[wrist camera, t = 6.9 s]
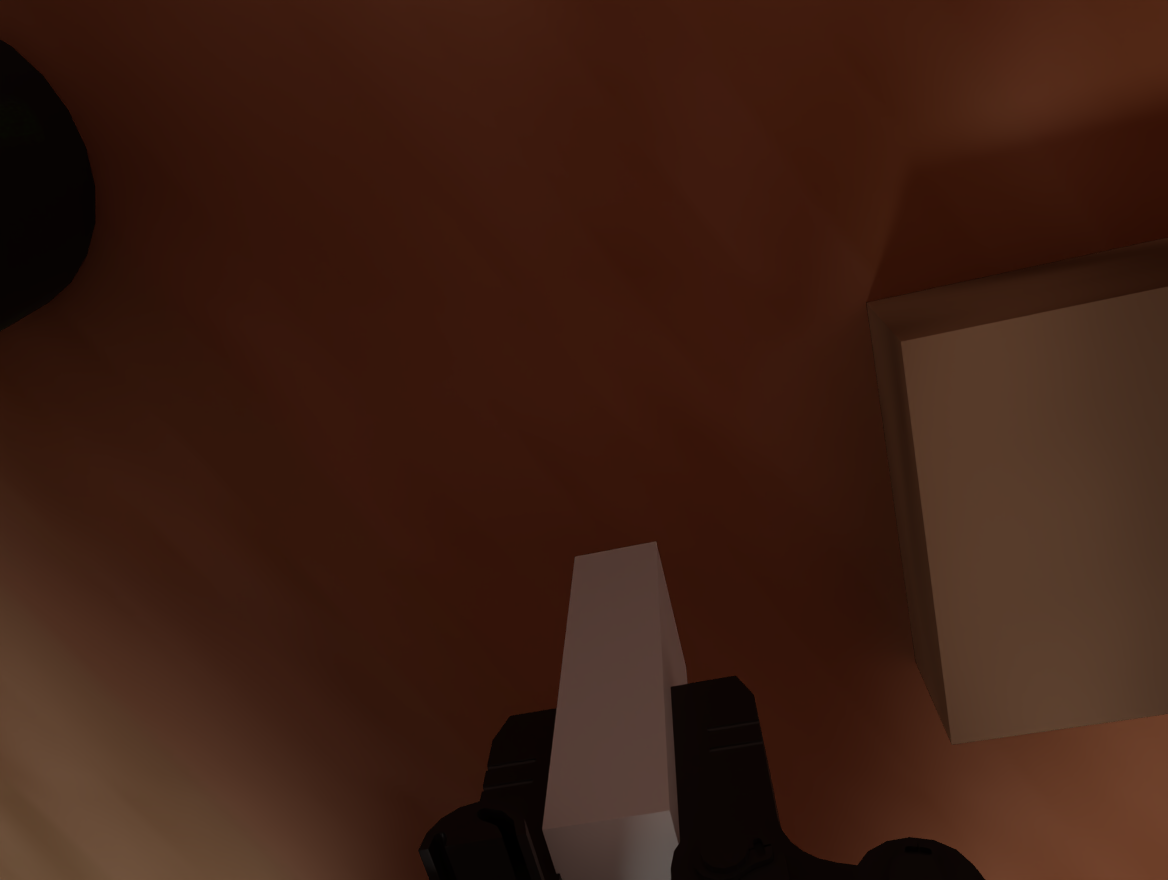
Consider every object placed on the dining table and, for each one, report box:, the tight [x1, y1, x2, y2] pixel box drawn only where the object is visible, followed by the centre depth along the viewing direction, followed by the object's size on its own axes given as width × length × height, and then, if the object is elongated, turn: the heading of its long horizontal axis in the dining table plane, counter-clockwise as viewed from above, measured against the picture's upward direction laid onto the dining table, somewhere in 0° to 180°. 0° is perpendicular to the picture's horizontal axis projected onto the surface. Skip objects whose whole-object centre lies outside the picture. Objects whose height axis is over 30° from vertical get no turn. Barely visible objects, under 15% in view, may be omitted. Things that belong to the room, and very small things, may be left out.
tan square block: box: [866, 238, 1168, 745], centre depth 17 cm, size 8×8×3 cm
